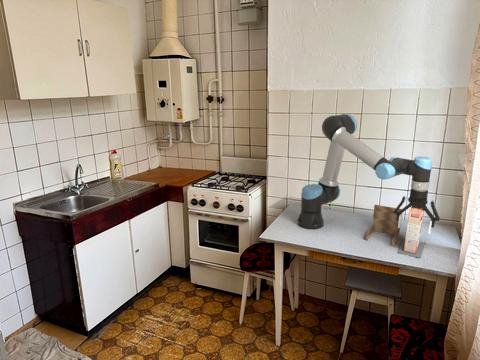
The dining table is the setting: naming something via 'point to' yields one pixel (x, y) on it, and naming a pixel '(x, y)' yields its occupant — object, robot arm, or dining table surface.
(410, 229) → the cracker box
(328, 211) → the dining table surface
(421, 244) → the mat
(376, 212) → the brown wooden legged piece
